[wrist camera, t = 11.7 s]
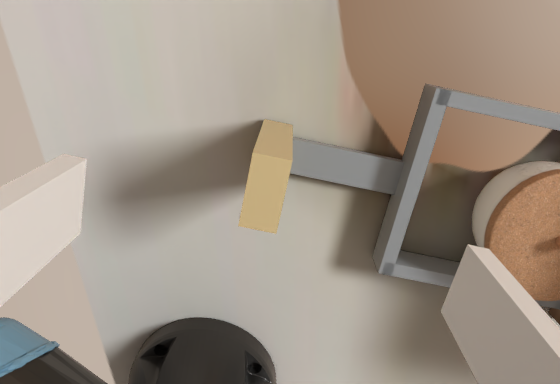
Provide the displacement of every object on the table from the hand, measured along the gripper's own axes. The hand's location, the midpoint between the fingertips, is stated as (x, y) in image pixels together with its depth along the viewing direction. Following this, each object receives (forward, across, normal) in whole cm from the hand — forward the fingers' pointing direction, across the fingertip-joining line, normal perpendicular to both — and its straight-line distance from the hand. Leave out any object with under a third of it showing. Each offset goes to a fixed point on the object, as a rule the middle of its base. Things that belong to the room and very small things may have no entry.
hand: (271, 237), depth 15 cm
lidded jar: (+26, -22, +3) cm, 34 cm away
